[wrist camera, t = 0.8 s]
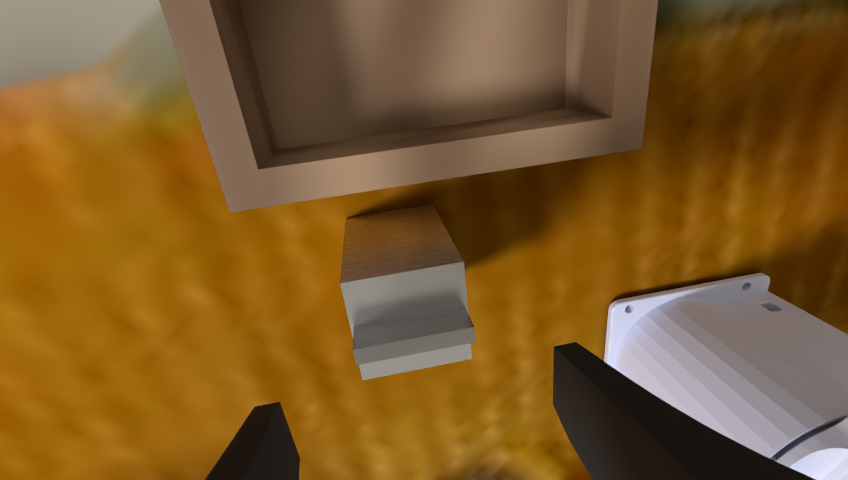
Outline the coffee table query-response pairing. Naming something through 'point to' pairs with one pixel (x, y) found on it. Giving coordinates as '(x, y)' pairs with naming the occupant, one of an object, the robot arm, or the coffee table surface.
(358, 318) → the bracket
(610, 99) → the well block
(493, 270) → the coffee table surface
